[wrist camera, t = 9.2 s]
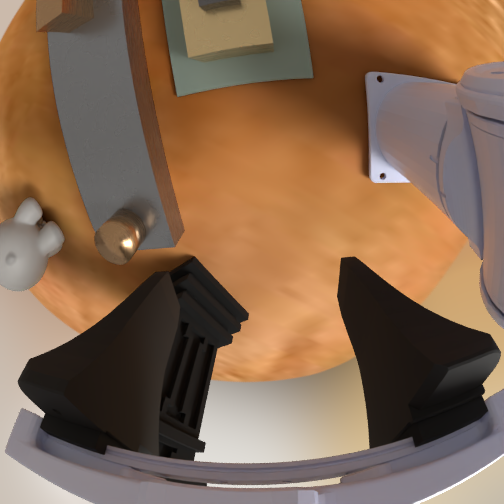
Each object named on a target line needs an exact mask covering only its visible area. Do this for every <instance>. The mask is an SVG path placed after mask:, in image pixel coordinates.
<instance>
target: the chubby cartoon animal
mask: <svg viewBox="0 0 504 504" xmlns="http://www.w3.org/2000/svg"><path fill="white" fill-rule="evenodd" d="M41 216H42V209H41V207H40V205H39V203H38V202H37V201H36V200H35V199H34V198H32V197H28V198H26V199H25V200H24V201H23V202H22V203H21V205H20V206H19V208H18V210H17V212H16V214H15V216H14V217H13V218H10V219H7V220H5V221H4V222H2V223H1V224H0V284H1V285H2V286H3V287H5V288H7V289H9V290H12V291H24V290H27V289H30V288H31V287H33V286H34V285H36V284H37V283H38V282H39V281H40V279H41V278H42V276H43V275H44V273H45V270H46V267H47V263H48V258H49V257H51V256H53V255H55V254H56V253H58V252H59V251H60V250H61V248H62V243H63V242H64V240H65V238H64V235H63V233H62V231H61V229H60V228H59V226H58V225H57V224H56V223H55V222H53V221H50V222H48V223H47V224H46V222H45V221H43V219H42V217H41Z"/></svg>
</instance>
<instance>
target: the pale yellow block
mask: <svg viewBox="0 0 504 504" xmlns="http://www.w3.org/2000/svg"><path fill="white" fill-rule="evenodd" d="M179 2H180V9H181V16H182V22H183V29H184V35H185V41H186V47H187V53H188V58H191V59H194V60H198V61H201V62H204V63H206V62H211V61H216V60H221V59H226V58H232V57H238V56H245V55H252V54H260V53H269V52H274V46H273V39H272V33H271V27H270V21H269V16H268V10H267V5H266V0H179Z"/></svg>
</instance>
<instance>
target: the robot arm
mask: <svg viewBox="0 0 504 504" xmlns="http://www.w3.org/2000/svg"><path fill="white" fill-rule="evenodd" d="M378 76H380V77H381V78H382V82H381V83H380V82H378V81H377V77H378ZM365 84H366V96H367V111H368V133H369V178H370V179H371V181H373V182H375V183H412V184H413V185H414V186H415V187H417V188H418V189H419V190H420V191H421V192H422V193H423V194H424V195H425V196H426V197H428V198H429V199H430V200H431V201H432V202H433V203H434V204H435V205H436V206H437V207H438V208H439V209H440V210H441V211H442V212H443V213H444V214H445V215H446V216H447V217H448V218H449V219H450V220H451V221H452V222H453V223H454V224H455V225H456V226H457V227H458V228H459V229H460V230H461V231H462V232H463V233H464V234H465V235H466V236H467V237H468V239H469V244H470V247H471V248H472V249H473V250H474V252H475V253H476V254H477V255H478V256H479V258H480V259H481V260H483V262H482V265H481V268H480V282H479V284H480V292H481V295H482V299H483V302H484V304H485V307H486V309H487V311H488V312H489V314H490V315H491V317H492V318H493V319H494V320H495V321H496V322H497V324H498V325H500V326H501V327H502V328H503V329H504V61H502V62H493V63H486V64H481V65H477V66H474V67H471V68H469V69H467V70H466V71H465V72H464V74H463V76H462V78H461V80H460V81H459V82H458V83H457V84H453V83H449V82H444V81H439V80H434V79H428V78H423V77H416V76H410V75H402V74H393V73H383V72H368V73H367V74H366V75H365ZM381 173H384V174H385V175H384V177H383V178H380V174H381ZM337 298H338V302H339V307H340V311H341V315H342V318H343V321H344V324H345V327H346V330H347V332H348V335H349V338H350V341H351V344H352V346H353V349H354V352H355V355H356V358H357V361H358V365H359V369H360V373H361V379H362V384H363V390H364V396H365V402H366V409H367V419H368V429H369V445H370V449H367V450H363V451H358V452H354V453H349V454H343V455H338V456H332V457H326V458H319V459H312V460H302V461H292V462H280V463H252V464H250V463H249V464H248V463H246V464H245V463H244V464H242V463H241V464H240V463H239V464H238V463H212V462H200V461H199V462H198V461H189V460H180V459H173V458H166V457H159V413H160V402H161V393H162V386H163V379H164V374H165V369H166V366H167V362H168V358H169V355H170V351H171V348H172V345H173V341H174V338H175V334H176V331H177V327H178V321H179V314H180V305H179V302H178V299H177V296H176V293H175V290H174V287H173V284H172V280H171V277H170V274H169V271H164V272H155V273H154V274H153V275H151V276H150V277H149V278H148V279H147V280H146V281H145V282H144V283H142V284H141V285H140V286H139V287H138V288H137V289H136V290H135V291H134V292H133V293H132V294H131V295H130V296H129V297H127V298H126V299H125V300H124V301H123V302H122V303H121V304H120V305H118V306H117V307H116V308H115V309H114V310H113V311H112V312H110V313H109V314H108V315H107V316H106V317H104V318H103V319H102V320H100V321H99V322H98V323H96V324H95V325H94V326H92V327H91V328H89V329H88V330H86V331H85V332H83V333H82V334H80V335H78V336H77V337H75V338H74V339H72V340H70V341H69V342H67V343H65V344H63V345H61V346H59V347H57V348H55V349H53V350H51V351H49V352H46V353H44V354H41V355H39V356H37V357H34V358H31V359H29V361H28V363H27V364H26V366H25V368H24V370H23V372H22V374H21V376H20V378H19V380H18V384H19V387H20V389H21V390H22V391H23V392H24V394H25V395H26V396H27V397H28V398H29V399H30V400H31V401H32V402H33V403H35V404H36V405H37V406H38V407H39V408H40V409H41V410H42V411H43V412H44V413H45V416H44V418H41V417H40V416H38V415H36V414H34V413H32V412H30V411H28V410H26V409H23V408H22V409H21V410H20V413H19V415H18V418H17V420H16V423H15V425H14V427H13V430H12V432H11V435H10V438H9V440H8V443H7V446H6V449H5V453H6V454H8V455H9V456H11V457H12V458H13V459H15V460H16V461H18V462H19V463H21V464H22V465H24V466H25V467H27V468H28V469H30V470H31V471H33V472H35V473H36V474H38V475H39V476H41V477H43V478H45V479H46V480H48V481H50V482H52V483H53V484H55V485H57V486H59V487H61V488H62V489H64V490H66V491H68V492H70V493H72V494H75V495H76V496H78V497H81V498H83V499H85V500H87V501H90V502H92V503H95V504H419V503H421V502H423V501H426V500H428V499H430V498H432V497H435V496H437V495H439V494H441V493H443V492H445V491H447V490H449V489H451V488H453V487H455V486H456V485H458V484H460V483H462V482H464V481H465V480H467V479H469V478H470V477H472V476H474V475H475V474H477V473H479V472H480V471H482V470H483V469H485V468H486V467H488V466H489V465H491V464H492V463H494V462H495V461H497V460H498V459H500V457H502V456H503V455H504V389H502V390H501V391H499V392H497V393H495V394H494V395H492V396H490V397H489V398H488V399H486V400H485V401H484V399H483V397H482V395H483V394H484V393H485V389H484V387H483V385H482V384H483V382H484V381H485V380H486V379H487V377H488V376H489V375H490V373H491V372H492V371H493V370H494V368H495V367H496V365H497V364H498V362H499V359H500V356H501V351H500V350H499V348H498V346H497V345H496V343H495V341H494V340H493V338H492V337H491V335H490V334H488V333H484V332H481V331H478V330H474V329H471V328H468V327H465V326H463V325H460V324H458V323H455V322H453V321H450V320H448V319H446V318H444V317H442V316H440V315H438V314H436V313H434V312H432V311H430V310H428V309H426V308H424V307H423V306H421V305H419V304H418V303H416V302H414V301H413V300H411V299H410V298H408V297H407V296H405V295H404V294H402V293H401V292H399V291H398V290H397V289H395V288H394V287H393V286H391V285H390V284H389V283H387V282H386V281H385V280H383V279H382V278H381V277H380V276H378V275H377V274H376V273H375V272H374V271H372V270H371V269H370V268H369V267H367V266H366V265H365V264H364V263H363V262H361V261H360V260H359V259H357V258H356V257H345V258H341V264H340V275H339V285H338V294H337ZM346 475H347V476H346ZM156 476H158V477H156ZM341 476H343V477H342V478H341V479H340V482H341V483H339V484H334V485H325V486H315V487H285V488H221V487H208V486H198V485H189V484H182V483H175V482H169V481H167V480H166V479H164V478H170V479H176V480H183V481H191V482H200V483H212V484H231V485H270V484H287V483H299V482H308V481H316V480H322V479H330V478H336V477H341ZM160 477H164V478H160Z"/></svg>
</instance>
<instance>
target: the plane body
mask: <svg viewBox="0 0 504 504" xmlns="http://www.w3.org/2000/svg"><path fill="white" fill-rule="evenodd" d="M36 32H47V33H48V47H49V58H50V67H51V75H52V82H53V88H54V94H55V99H56V105H57V110H58V115H59V119H60V124H61V128H62V132H63V136H64V140H65V144H66V148H67V152H68V155H69V159H70V162H71V166H72V169H73V172H74V175H75V178H76V182H77V185H78V188H79V191H80V194H81V196H82V199H83V202H84V205H85V208H86V210H87V213H88V216H89V218H90V221H91V223H92V226H93V228H94V231H95V245H96V248H97V250H98V251H99V253H100V254H101V255H102V256H103V257H104V258H105V259H106V260H107V261H109V262H111V263H113V264H118V265H122V264H125V263H127V262H128V261H129V260H130V259H131V258H132V256H133V255H134V254H135V252H136V251H137V250H145V249H157V248H169V247H175V246H176V244H177V243H178V241H179V239H180V238H181V236H182V234H183V233H184V231H185V230H184V226H183V223H182V219H181V216H180V212H179V208H178V205H177V201H176V197H175V193H174V190H173V186H172V182H171V178H170V174H169V170H168V166H167V162H166V157H165V153H164V149H163V145H162V140H161V136H160V131H159V127H158V122H157V117H156V112H155V108H154V103H153V97H152V92H151V87H150V82H149V76H148V70H147V64H146V58H145V52H144V46H143V39H142V32H141V25H140V17H139V8H138V0H37V3H36Z"/></svg>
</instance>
